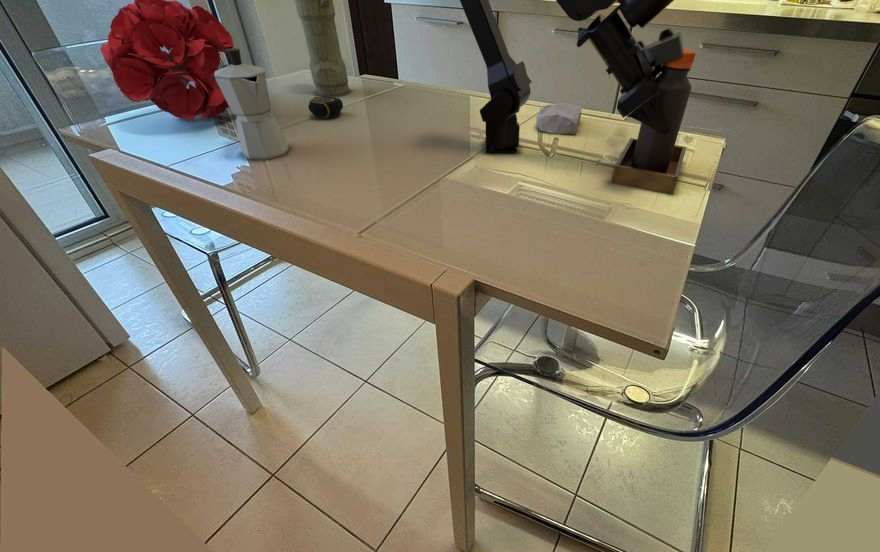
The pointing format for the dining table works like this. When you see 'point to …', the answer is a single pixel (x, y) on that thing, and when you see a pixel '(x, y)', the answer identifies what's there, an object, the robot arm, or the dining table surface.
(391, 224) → the dining table surface
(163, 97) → the bouquet
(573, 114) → the stone block
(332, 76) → the greenish beige column
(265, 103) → the coffee maker
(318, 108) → the tape measure
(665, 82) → the vinegar
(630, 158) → the tray
